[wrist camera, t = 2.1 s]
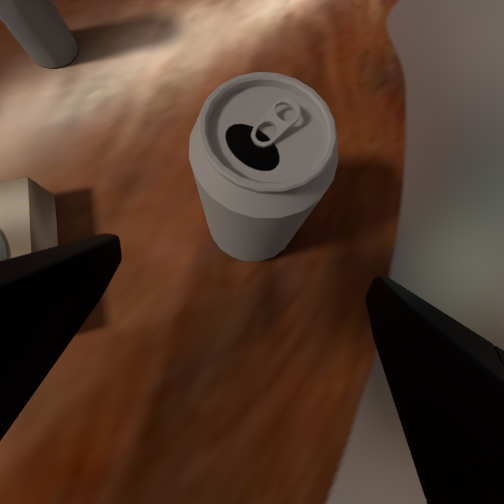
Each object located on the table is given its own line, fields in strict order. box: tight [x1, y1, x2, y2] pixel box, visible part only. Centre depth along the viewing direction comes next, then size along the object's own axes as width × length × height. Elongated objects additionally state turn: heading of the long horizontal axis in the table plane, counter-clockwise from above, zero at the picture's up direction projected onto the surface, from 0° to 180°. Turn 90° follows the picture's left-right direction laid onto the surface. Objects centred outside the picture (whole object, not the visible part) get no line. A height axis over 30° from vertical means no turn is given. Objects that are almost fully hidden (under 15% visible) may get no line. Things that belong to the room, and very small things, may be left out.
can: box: [189, 72, 338, 261], centre depth 17 cm, size 8×8×12 cm
